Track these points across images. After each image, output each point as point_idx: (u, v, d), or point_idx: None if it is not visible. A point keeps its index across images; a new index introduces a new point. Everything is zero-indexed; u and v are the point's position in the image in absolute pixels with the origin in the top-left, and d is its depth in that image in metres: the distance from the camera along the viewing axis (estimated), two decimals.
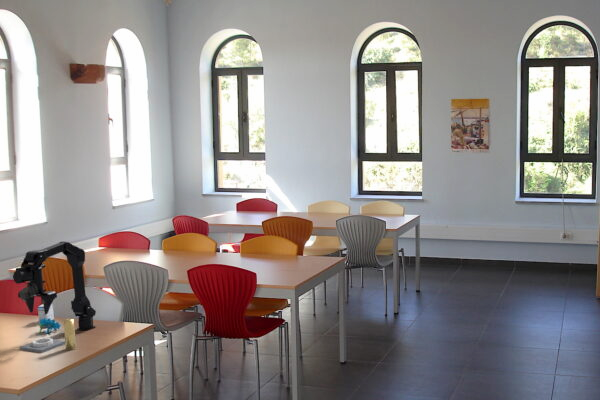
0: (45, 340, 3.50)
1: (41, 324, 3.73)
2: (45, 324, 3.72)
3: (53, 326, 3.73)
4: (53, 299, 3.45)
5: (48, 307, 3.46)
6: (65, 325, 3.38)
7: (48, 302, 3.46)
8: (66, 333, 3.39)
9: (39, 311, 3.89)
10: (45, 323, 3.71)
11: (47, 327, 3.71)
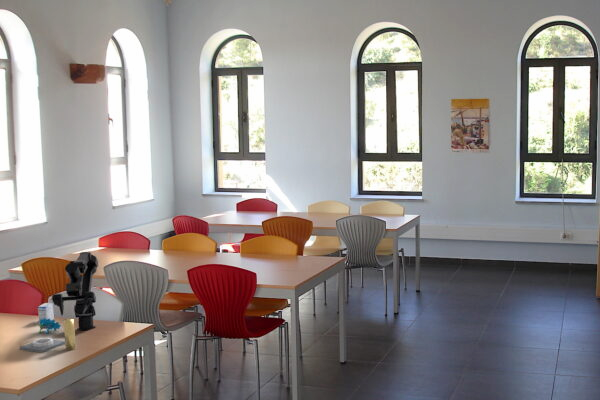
0: (45, 340, 3.50)
1: (41, 324, 3.73)
2: (45, 324, 3.72)
3: (53, 326, 3.73)
4: (92, 302, 3.54)
5: (85, 308, 3.51)
6: (65, 325, 3.38)
7: (86, 304, 3.52)
8: (66, 333, 3.39)
9: (39, 311, 3.89)
10: (45, 323, 3.71)
11: (47, 327, 3.71)
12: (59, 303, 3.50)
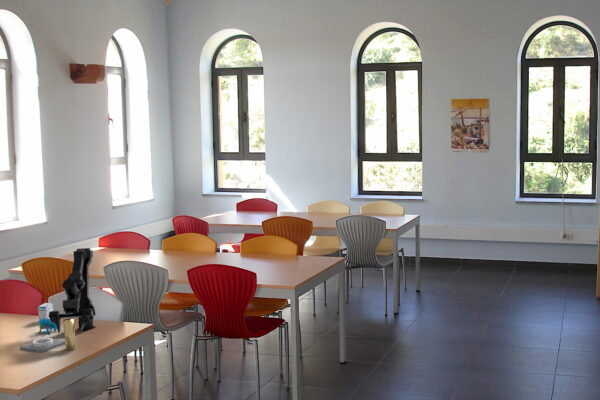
0: (45, 340, 3.50)
1: (41, 324, 3.73)
2: (45, 324, 3.72)
3: (53, 326, 3.72)
4: (90, 319, 3.46)
5: (83, 326, 3.43)
6: (65, 325, 3.38)
7: (84, 321, 3.44)
8: (66, 333, 3.39)
9: (39, 311, 3.89)
10: (44, 323, 3.71)
11: (46, 327, 3.71)
12: (56, 320, 3.42)
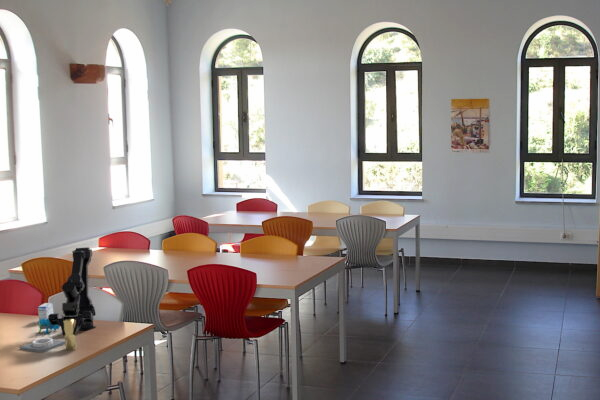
0: (45, 340, 3.50)
1: (41, 324, 3.73)
2: (44, 324, 3.72)
3: (52, 326, 3.72)
4: (84, 322, 3.45)
5: (77, 329, 3.42)
6: (65, 325, 3.38)
7: (78, 324, 3.43)
8: (66, 333, 3.39)
9: (39, 311, 3.89)
10: (44, 323, 3.71)
11: (46, 327, 3.71)
12: (61, 323, 3.41)
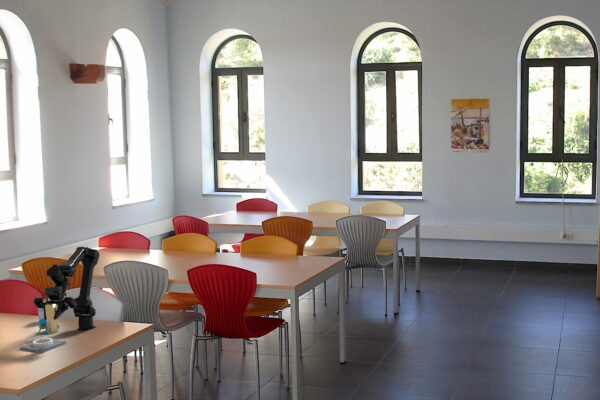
0: (45, 340, 3.50)
1: (40, 324, 3.73)
2: (44, 324, 3.72)
3: None
4: (67, 308, 3.45)
5: (59, 314, 3.43)
6: (46, 309, 3.40)
7: (61, 309, 3.44)
8: (47, 317, 3.41)
9: (39, 311, 3.89)
10: (44, 323, 3.71)
11: (46, 327, 3.71)
12: (44, 307, 3.44)
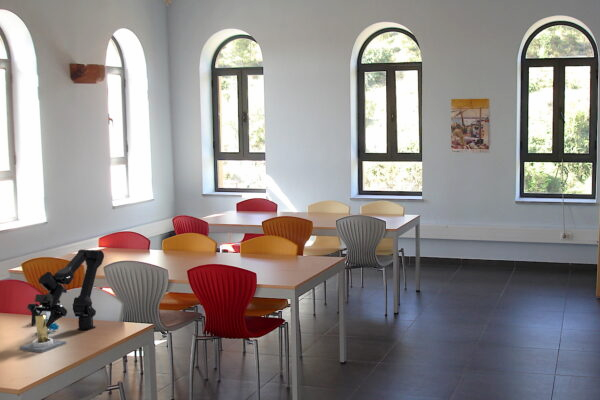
0: None
1: None
2: None
3: (51, 327, 3.72)
4: (60, 316, 3.47)
5: (51, 321, 3.45)
6: (36, 320, 3.44)
7: (54, 317, 3.46)
8: (36, 328, 3.45)
9: None
10: None
11: None
12: (32, 313, 3.49)
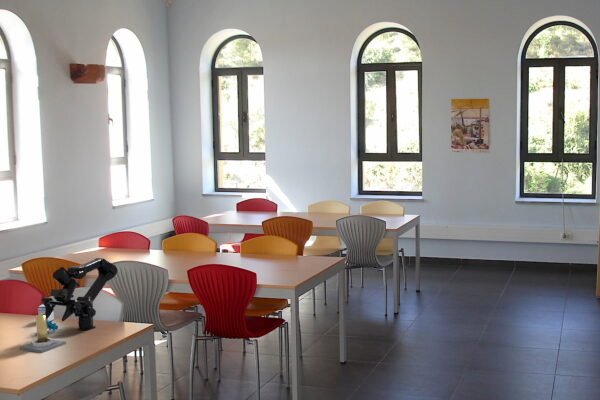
0: None
1: None
2: None
3: (51, 327, 3.71)
4: (76, 310, 3.55)
5: (67, 316, 3.54)
6: (36, 320, 3.44)
7: (69, 311, 3.55)
8: (37, 328, 3.45)
9: (39, 311, 3.89)
10: None
11: None
12: (46, 307, 3.57)
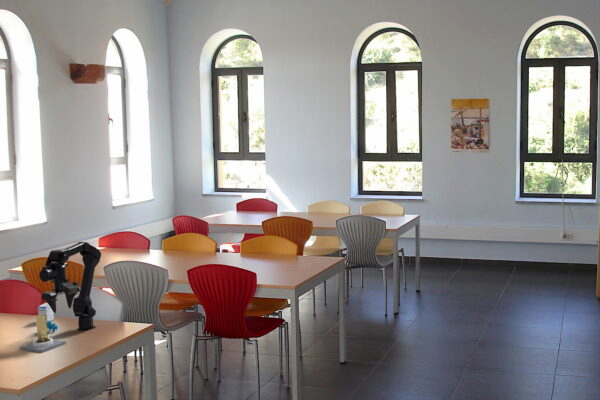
0: None
1: None
2: None
3: (51, 327, 3.71)
4: None
5: None
6: (36, 320, 3.44)
7: None
8: (37, 328, 3.45)
9: (39, 311, 3.89)
10: None
11: None
12: (54, 302, 3.52)
